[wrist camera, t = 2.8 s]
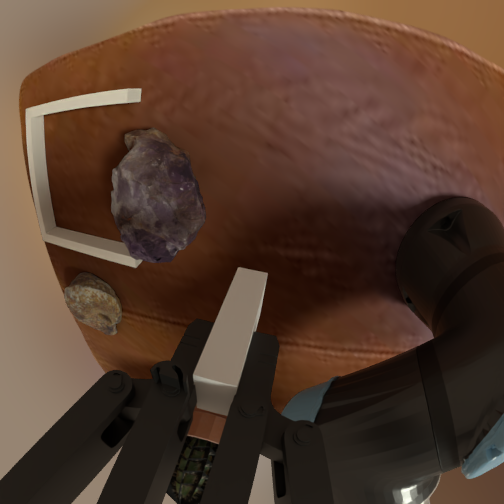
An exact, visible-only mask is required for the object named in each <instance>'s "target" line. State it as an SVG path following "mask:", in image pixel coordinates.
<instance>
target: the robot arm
mask: <svg viewBox="0 0 504 504" xmlns="http://www.w3.org/2000/svg"><path fill="white" fill-rule="evenodd" d="M267 275H268V273H265V272H260V271H255V270H250V269H245V268H241V267H238V269H237V272H236V274H235V276H234V279H233V281H232V283H231V286H230V288H229V290H228V293H227V295H226V297H225V300H224V302H223V305H222V307H221V309H220V312H219V314H218V316H217V319H216V321H215V323H213V322H209V321H205V320H201V319H196V320H195V321H193V322H192V323H191V324H190V325H188V327H187V329H186V331H185V333H184V336H183V337H182V339H181V341H180V344H179V345H178V347H177V349H176V351H175V353H174V355H173V357H172V359H171V361H162V362H159V363H157V364H155V365H154V366H153V367H152V368H151V370H150V371H151V374H152V377H153V379H134V378H130V376H129V375H128V374H127V373H125V372H123V371H120V370H113V371H109V372H107V373H106V374H104V375H103V376H102V377H101V378H100V379H99V380H98V381H97V382H96V383H95V384H94V385H93V386H92V387H91V388H90V389H89V390H88V391H87V392H86V393H85V394H84V395H83V396H82V397H81V398H80V399H79V400H78V401H77V402H76V403H75V404H74V405H73V406H72V407H71V408H70V409H69V410H68V411H67V412H66V413H65V414H64V415H63V416H62V417H61V418H60V419H59V420H58V421H57V422H56V423H55V424H54V425H53V426H52V427H51V428H50V429H49V430H48V432H46V433H45V435H44V436H43V437H42V438H41V439H39V441H38V442H37V443H36V444H35V445H34V446H33V447H32V448H31V449H30V450H29V451H28V452H27V453H26V454H25V455H24V456H23V457H22V458H21V459H20V460H19V461H18V463H16V465H14V467H13V468H12V469H11V470H10V471H9V472H8V473H7V474H6V475H5V476H4V477H3V478H2V479H1V480H0V504H71V503H72V502H73V501H74V500H75V499H76V497H78V495H79V494H80V493H81V492H82V491H83V490H84V489H85V488H86V487H87V485H88V484H89V483H90V482H91V481H92V480H93V479H94V478H95V477H96V475H97V474H98V473H99V472H100V471H101V470H102V469H103V467H104V466H105V465H106V464H107V463H108V462H109V461H110V460H111V458H112V457H113V456H114V455H115V454H116V452H118V450H119V449H120V448H121V447H122V446H123V447H122V449H121V451H120V453H119V455H118V457H117V460H116V462H115V464H114V466H113V468H112V471H111V473H110V475H109V477H108V479H107V482H106V484H105V486H104V488H103V491H102V493H101V495H100V497H99V500H98V502H97V504H162V502H163V499H164V497H165V494H166V491H167V489H168V486H169V483H170V480H171V478H172V475H173V472H174V470H175V467H176V464H177V462H178V459H179V456H180V453H181V451H182V448H183V445H184V443H185V440H186V437H187V435H188V432H189V429H190V426H191V424H192V421H193V411H194V409H195V406H196V404H197V408H199V409H203V410H206V411H210V412H214V413H218V414H221V415H225V416H227V419H226V422H225V425H224V429H223V432H222V435H221V438H220V442H219V445H218V448H217V451H216V455H215V458H214V461H213V464H212V467H211V470H210V474H209V477H208V480H207V483H206V486H205V489H204V492H203V495H202V498H201V501H200V504H248V500H249V497H250V493H251V489H252V485H253V481H254V477H255V473H256V468H257V464H258V460H259V455H260V454H261V455H263V456H265V457H267V458H269V459H271V466H272V477H273V489H274V501H275V504H430V500H429V498H430V496H431V495H432V493H433V492H434V491H435V489H436V487H437V485H438V483H439V480H440V475H441V474H442V473H444V472H447V471H450V470H452V469H454V468H457V467H460V466H462V473H463V474H464V475H465V477H466V478H468V479H471V478H474V477H477V476H480V475H482V474H483V473H485V472H487V471H489V470H490V469H492V468H494V467H496V466H498V465H499V464H501V463H502V462H504V228H503V226H502V224H501V222H500V221H499V219H498V218H497V217H496V215H495V214H494V213H493V212H492V211H490V210H489V209H488V208H487V207H485V206H484V205H483V204H482V203H480V202H478V201H476V200H474V199H470V198H464V197H458V198H451V199H447V200H444V201H442V202H440V203H438V204H436V205H434V206H432V207H431V208H429V209H428V210H427V211H426V212H424V213H423V214H422V215H421V216H420V217H419V218H418V219H417V220H416V221H415V222H414V224H413V225H412V226H411V227H410V229H409V230H408V232H407V234H406V235H405V237H404V239H403V241H402V243H401V246H400V248H399V251H398V255H397V260H396V279H397V283H398V286H399V289H400V292H401V294H402V297H403V299H404V301H405V303H406V304H407V306H408V307H409V308H410V309H411V311H412V312H414V313H415V315H416V316H417V317H418V318H419V319H420V320H421V321H422V322H423V323H424V324H425V325H426V326H427V327H428V328H429V329H430V330H431V331H432V333H433V336H434V339H432V340H430V341H428V342H426V343H424V344H422V345H420V346H417V347H415V348H413V349H411V350H408V351H406V352H404V353H402V354H399V355H397V356H395V357H392V358H390V359H387V360H385V361H383V362H380V363H378V364H375V365H372V366H370V367H367V368H365V369H362V370H359V371H356V372H353V373H351V374H348V375H345V376H342V377H341V376H335V377H332V378H331V379H330V380H329V381H327V382H325V383H322V384H319V385H316V386H313V387H311V388H308V389H305V390H303V391H301V392H299V393H298V394H296V395H295V396H294V397H293V398H292V399H291V400H290V401H289V402H288V404H287V405H286V406H285V408H284V410H283V412H282V414H280V413H278V412H277V411H276V410H275V409H274V407H273V405H272V403H271V391H272V385H273V380H274V375H275V369H276V363H277V357H278V352H279V343H278V340H277V337H276V336H274V335H269V334H264V333H259V332H256V329H257V325H258V321H259V317H260V313H261V308H262V302H263V297H264V291H265V286H266V280H267Z"/></svg>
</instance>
